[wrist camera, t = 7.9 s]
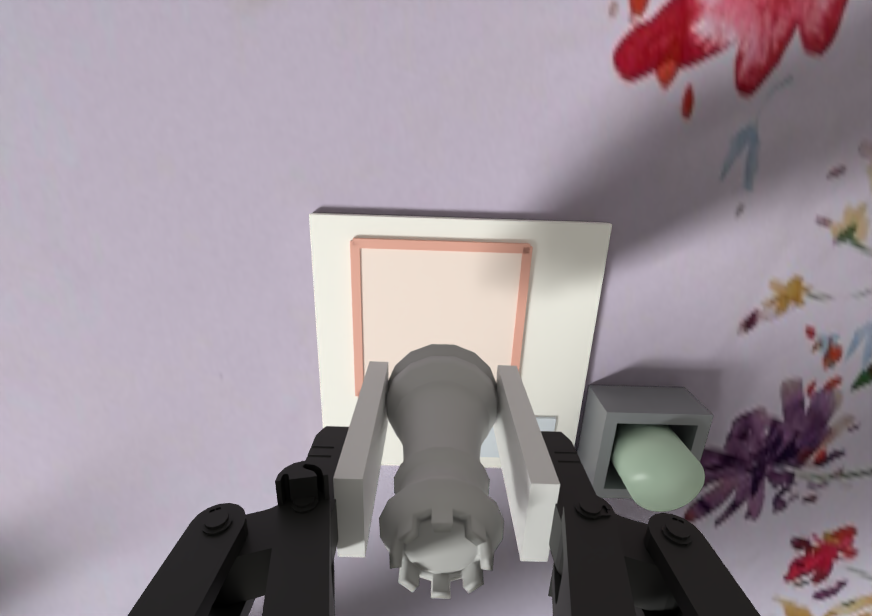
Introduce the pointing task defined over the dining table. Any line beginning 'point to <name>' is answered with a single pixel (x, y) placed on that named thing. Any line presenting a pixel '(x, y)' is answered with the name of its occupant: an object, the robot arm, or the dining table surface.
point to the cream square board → (457, 305)
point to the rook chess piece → (441, 470)
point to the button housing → (635, 408)
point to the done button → (656, 466)
